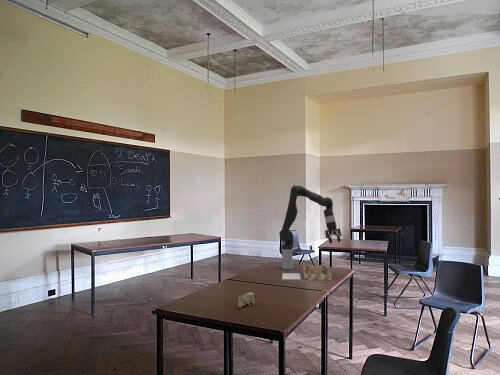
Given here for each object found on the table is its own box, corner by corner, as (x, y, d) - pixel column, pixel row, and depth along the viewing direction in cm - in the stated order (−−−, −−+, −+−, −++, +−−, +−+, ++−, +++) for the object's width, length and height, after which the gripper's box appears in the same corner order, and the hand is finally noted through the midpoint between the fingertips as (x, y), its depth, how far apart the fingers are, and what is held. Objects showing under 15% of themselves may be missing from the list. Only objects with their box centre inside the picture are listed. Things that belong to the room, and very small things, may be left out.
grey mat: (282, 279, 281) (282, 278, 281) (282, 274, 301) (282, 273, 301) (300, 279, 279) (300, 278, 279) (299, 274, 299) (299, 273, 299)
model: (254, 305, 218) (254, 292, 218) (242, 309, 210) (242, 296, 210) (250, 304, 220) (250, 291, 220) (238, 308, 212) (238, 295, 212)
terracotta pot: (313, 277, 285) (313, 267, 286) (312, 276, 291) (312, 265, 291) (320, 277, 285) (320, 267, 285) (320, 276, 291) (320, 265, 291)
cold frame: (304, 279, 279) (304, 270, 279) (303, 274, 299) (303, 265, 299) (331, 279, 277) (331, 270, 277) (328, 274, 297) (328, 265, 297)
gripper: (334, 222, 294) (338, 242, 290) (320, 223, 287) (325, 244, 283) (340, 220, 288) (345, 240, 284) (326, 221, 281) (331, 242, 277)
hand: (335, 242), depth 284 cm, fingers open, 8 cm apart
